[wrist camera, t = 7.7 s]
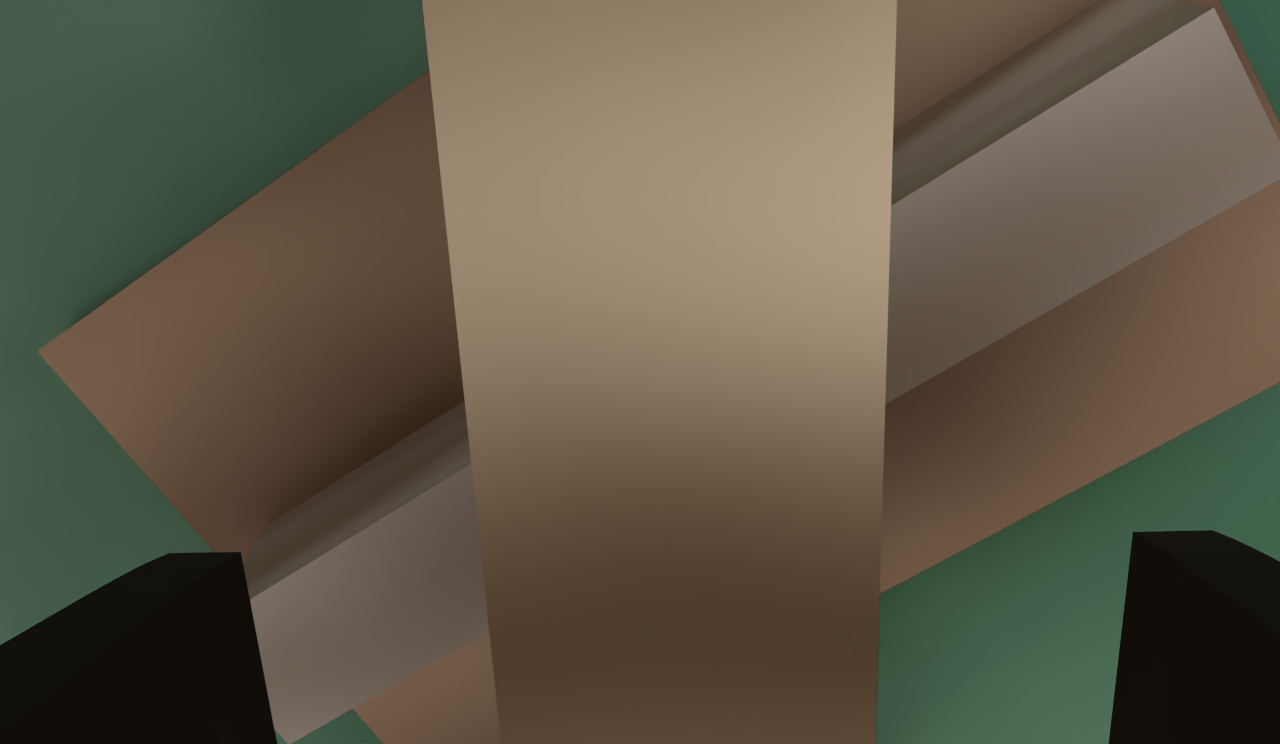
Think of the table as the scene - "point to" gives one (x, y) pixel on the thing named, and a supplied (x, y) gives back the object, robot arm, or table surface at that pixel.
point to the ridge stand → (916, 337)
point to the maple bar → (673, 357)
